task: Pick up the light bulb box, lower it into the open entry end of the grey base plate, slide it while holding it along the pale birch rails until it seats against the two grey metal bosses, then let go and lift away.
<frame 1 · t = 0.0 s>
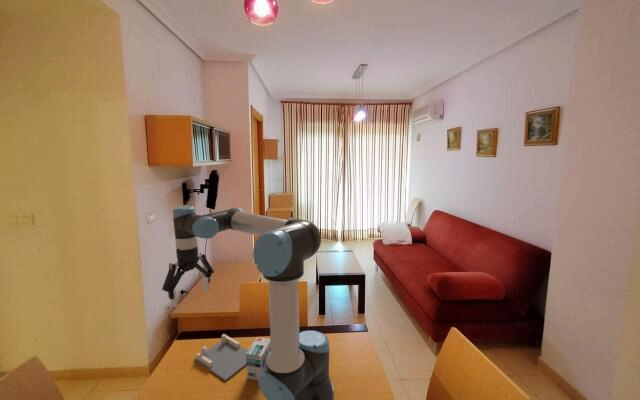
hand: (191, 298, 117), 28 cm above the table, tool pointing down, fingers open, 13 cm apart
light bulb box: (260, 370, 118), on the table
grey base plate: (226, 358, 124), on the table
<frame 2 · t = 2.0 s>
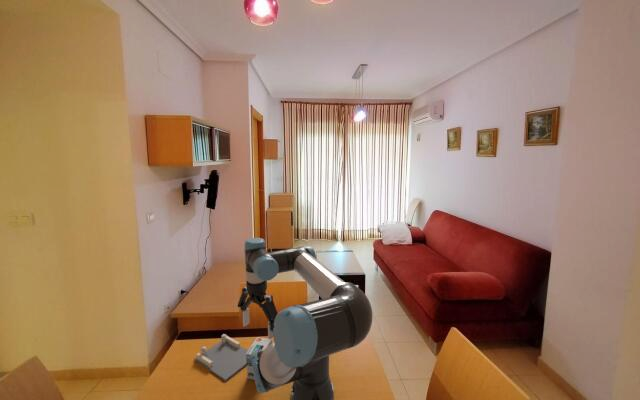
hand: (258, 330, 115), 17 cm above the table, tool pointing down, fingers open, 13 cm apart
nothing on the table moved.
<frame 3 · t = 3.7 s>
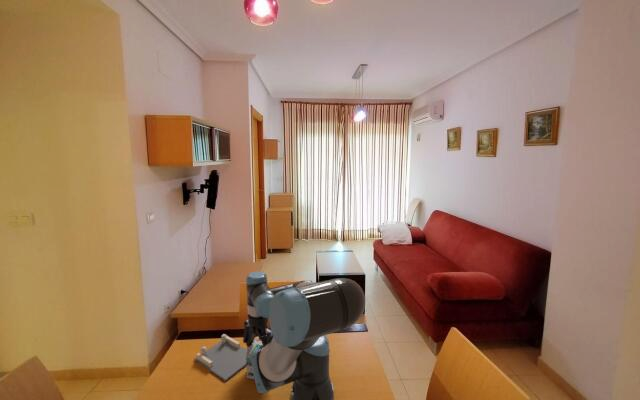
hand: (260, 364, 117), 2 cm above the table, tool pointing down, fingers closed on light bulb box, 8 cm apart
light bulb box: (260, 370, 118), on the table, touching gripper
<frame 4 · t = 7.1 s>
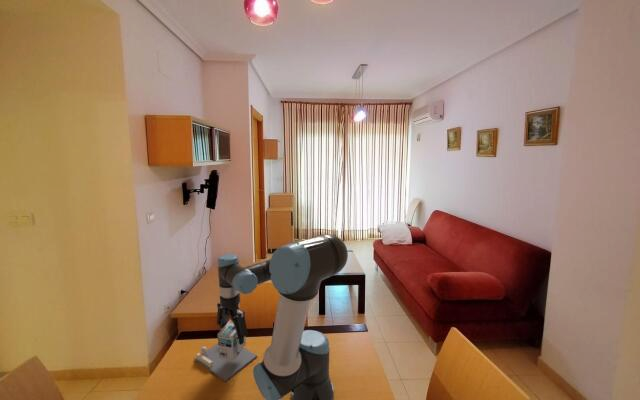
hand: (232, 345, 120), 8 cm above the table, tool pointing down, fingers closed on light bulb box, 8 cm apart
light bulb box: (232, 351, 120), point 5 cm above the table, touching gripper
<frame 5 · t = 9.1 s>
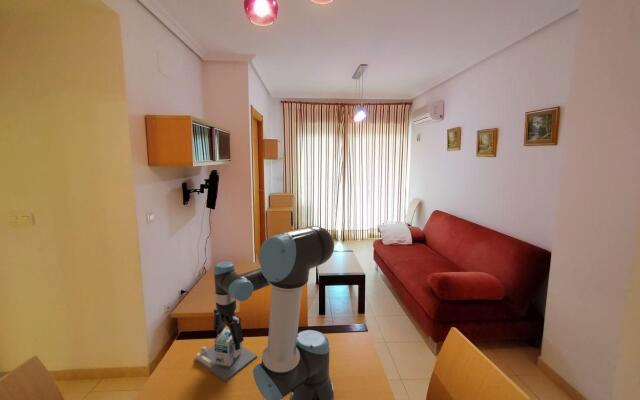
hand: (229, 351, 122), 4 cm above the table, tool pointing down, fingers closed on light bulb box, 8 cm apart
light bulb box: (229, 356, 122), point 2 cm above the table, touching gripper
when the fingers open (4 cm above the table, at t = 10.6 s): light bulb box stays where it is, resting on grey base plate.
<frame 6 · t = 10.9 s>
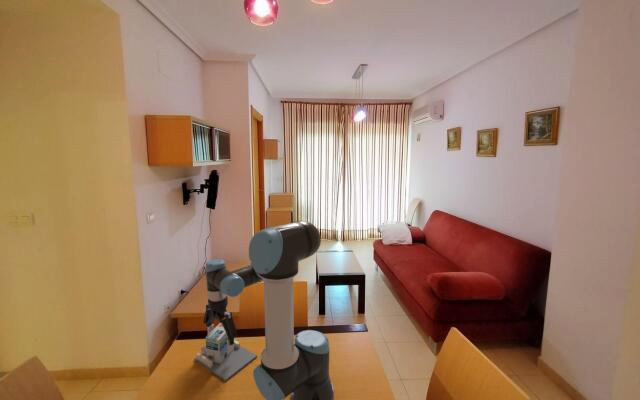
hand: (220, 345, 125), 5 cm above the table, tool pointing down, fingers open, 12 cm apart
light bulb box: (221, 354, 125), point 1 cm above the table, touching grey base plate
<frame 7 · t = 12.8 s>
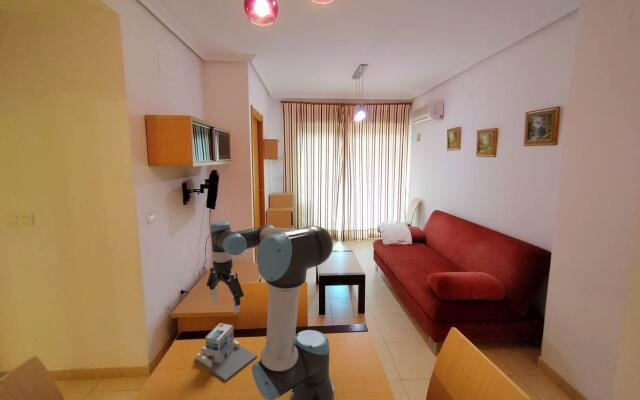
hand: (225, 307, 125), 20 cm above the table, tool pointing down, fingers open, 13 cm apart
nothing on the table moved.
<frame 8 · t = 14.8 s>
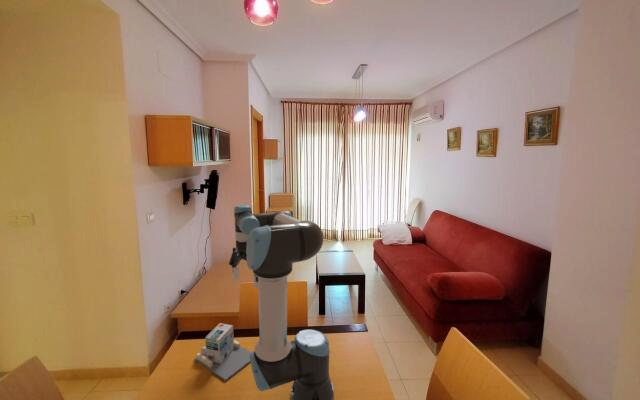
hand: (246, 283, 137), 25 cm above the table, tool pointing down, fingers open, 13 cm apart
nothing on the table moved.
at the end: light bulb box 0.2 cm from the target spot, point 0.6 cm above the table; light bulb box tilted 0°; the gripper is holding nothing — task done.
